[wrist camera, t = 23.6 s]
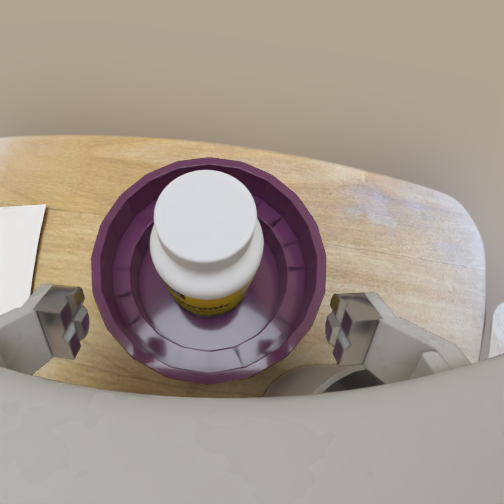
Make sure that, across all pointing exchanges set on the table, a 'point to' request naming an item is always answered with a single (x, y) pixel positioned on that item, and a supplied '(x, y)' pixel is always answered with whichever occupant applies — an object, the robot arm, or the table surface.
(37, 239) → the paper
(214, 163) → the bowl
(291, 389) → the cup
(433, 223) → the table surface
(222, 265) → the supplement bottle
